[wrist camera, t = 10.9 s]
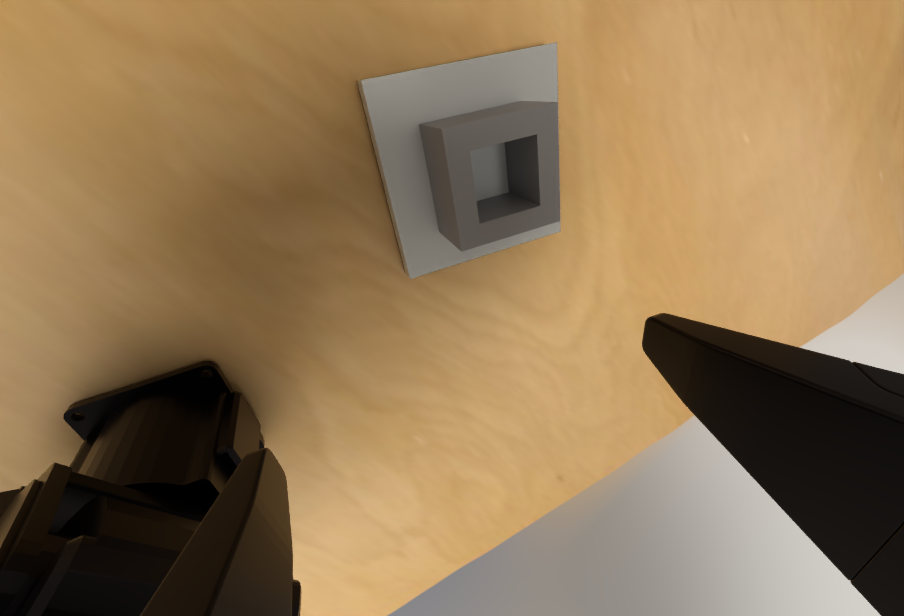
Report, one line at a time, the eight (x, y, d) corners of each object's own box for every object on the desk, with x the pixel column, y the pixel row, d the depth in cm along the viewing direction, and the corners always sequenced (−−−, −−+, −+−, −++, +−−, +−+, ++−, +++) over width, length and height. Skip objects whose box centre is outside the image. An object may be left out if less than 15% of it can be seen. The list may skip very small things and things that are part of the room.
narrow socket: (405, 271, 21) (427, 304, 18) (357, 80, 16) (375, 77, 13) (550, 226, 23) (595, 248, 20) (544, 44, 18) (601, 33, 15)
